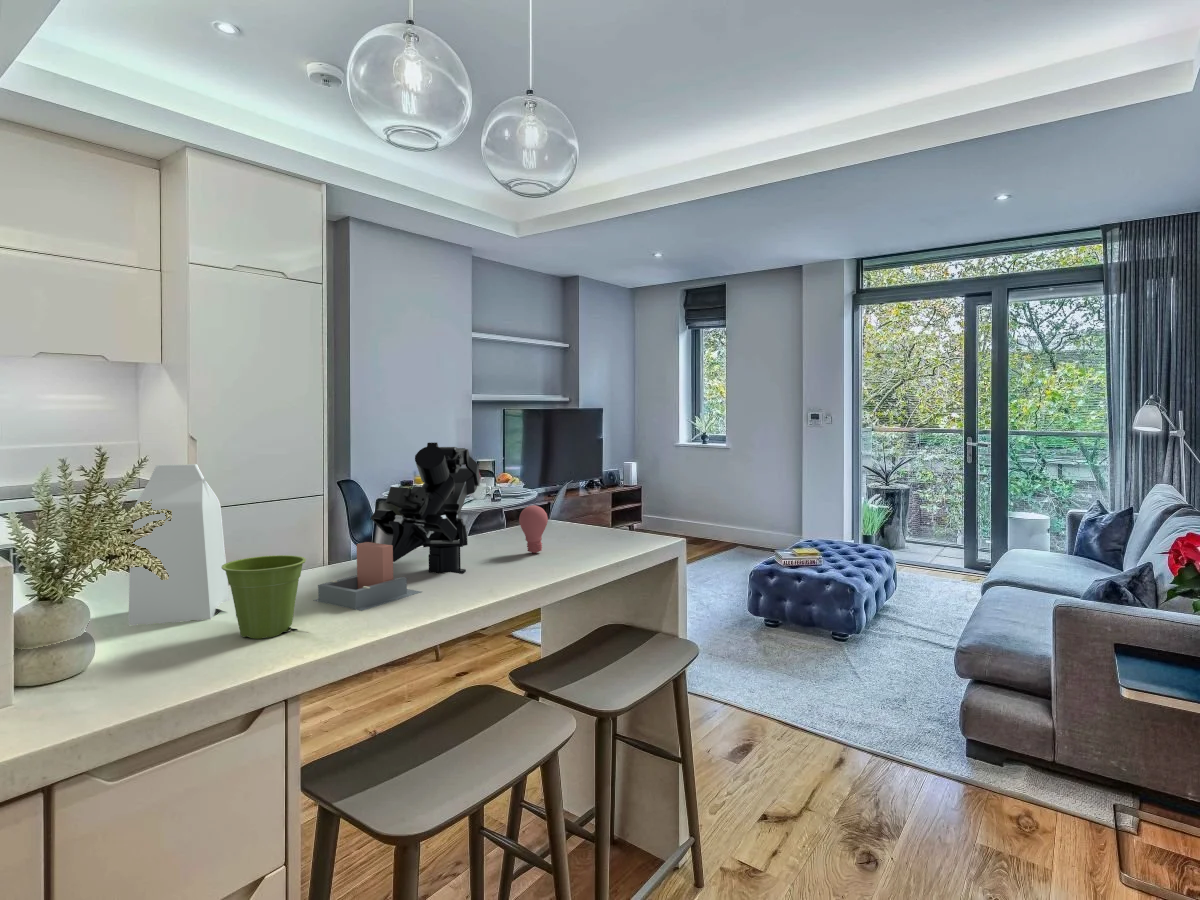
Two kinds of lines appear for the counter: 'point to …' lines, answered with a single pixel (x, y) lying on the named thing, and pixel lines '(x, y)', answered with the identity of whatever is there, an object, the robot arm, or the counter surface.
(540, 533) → the light bulb
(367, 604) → the dock
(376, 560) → the upright terracotta block
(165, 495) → the milk
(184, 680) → the counter surface
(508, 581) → the counter surface
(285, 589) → the plant pot
